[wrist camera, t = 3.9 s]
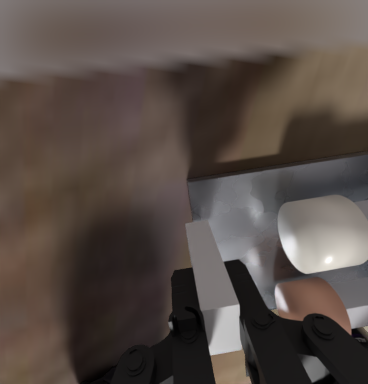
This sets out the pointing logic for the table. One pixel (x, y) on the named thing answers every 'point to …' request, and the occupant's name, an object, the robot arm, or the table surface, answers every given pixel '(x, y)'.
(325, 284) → the knob terracotta
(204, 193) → the mount
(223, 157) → the table surface
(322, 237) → the knob cream
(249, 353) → the robot arm
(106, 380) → the portable speaker
